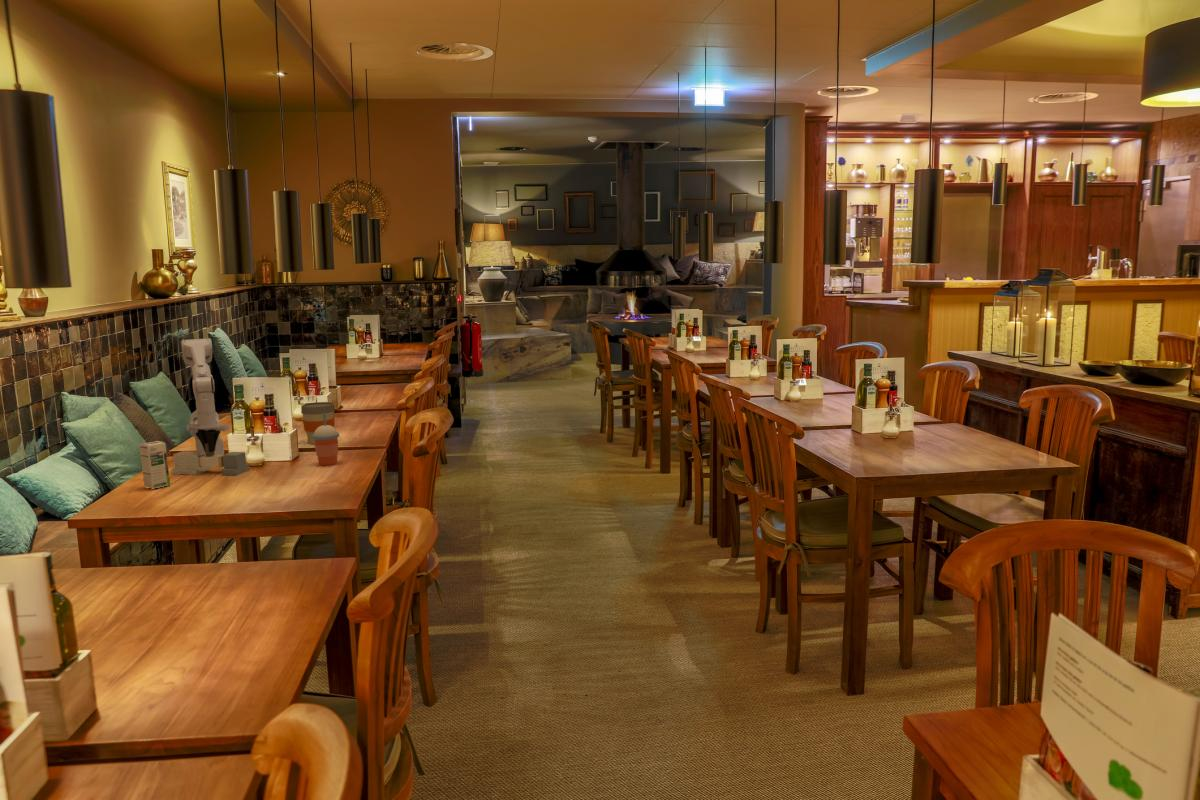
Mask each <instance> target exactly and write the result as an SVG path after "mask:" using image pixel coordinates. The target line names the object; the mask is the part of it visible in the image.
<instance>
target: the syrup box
mask: <svg viewBox="0 0 1200 800" xmlns="http://www.w3.org/2000/svg"><path fill="white" fill-rule="evenodd" d="M167 453H168V452H167V445H166V442H164V441H161V440H155V441H151V442H144V443H140V444H139V454H140V461H141V462H140V463H141V468H142V471H141V472H142V479H143V486H146V487H149V488H158V489H160V488H159V487H163V488H165V487H164V486H167V487H170V486H171V480H170V479H171V478H170V472H169V464H168V455H167Z"/></svg>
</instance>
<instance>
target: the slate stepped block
mask: <svg viewBox="0 0 1200 800" xmlns="http://www.w3.org/2000/svg"><path fill="white" fill-rule="evenodd" d="M246 457H247V456H246V452H245V451H230V452H228V453H224V455H223V462H224V466H223V468H222V469H221V476H231V477H232V476H238V475H240V474H243V473H245V472H248V471H249V470H250V466H249V464H248V463H247V458H246Z"/></svg>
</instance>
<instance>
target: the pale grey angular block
mask: <svg viewBox="0 0 1200 800" xmlns="http://www.w3.org/2000/svg"><path fill="white" fill-rule="evenodd" d="M205 451H206V455H200V456H199V466H200V467H211V468H222V467H223V468H224V462H223V455H215V454H214V451H213V452H210V451H209V446H208V443H206V444H205Z"/></svg>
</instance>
